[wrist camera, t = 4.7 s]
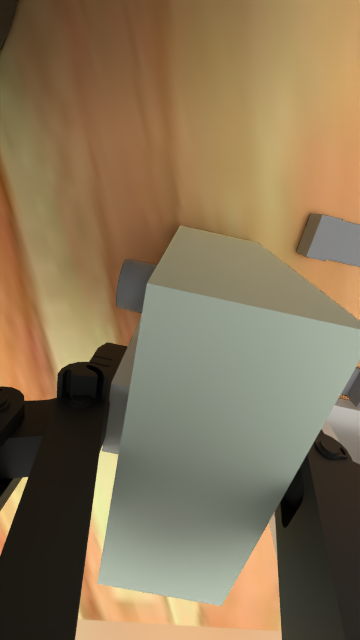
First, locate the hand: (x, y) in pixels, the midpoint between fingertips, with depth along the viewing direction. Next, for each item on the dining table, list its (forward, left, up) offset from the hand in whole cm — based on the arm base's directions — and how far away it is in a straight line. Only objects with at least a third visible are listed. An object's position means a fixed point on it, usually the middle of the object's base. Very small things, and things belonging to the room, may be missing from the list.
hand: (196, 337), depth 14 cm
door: (0, 0, -2) cm, 2 cm away
